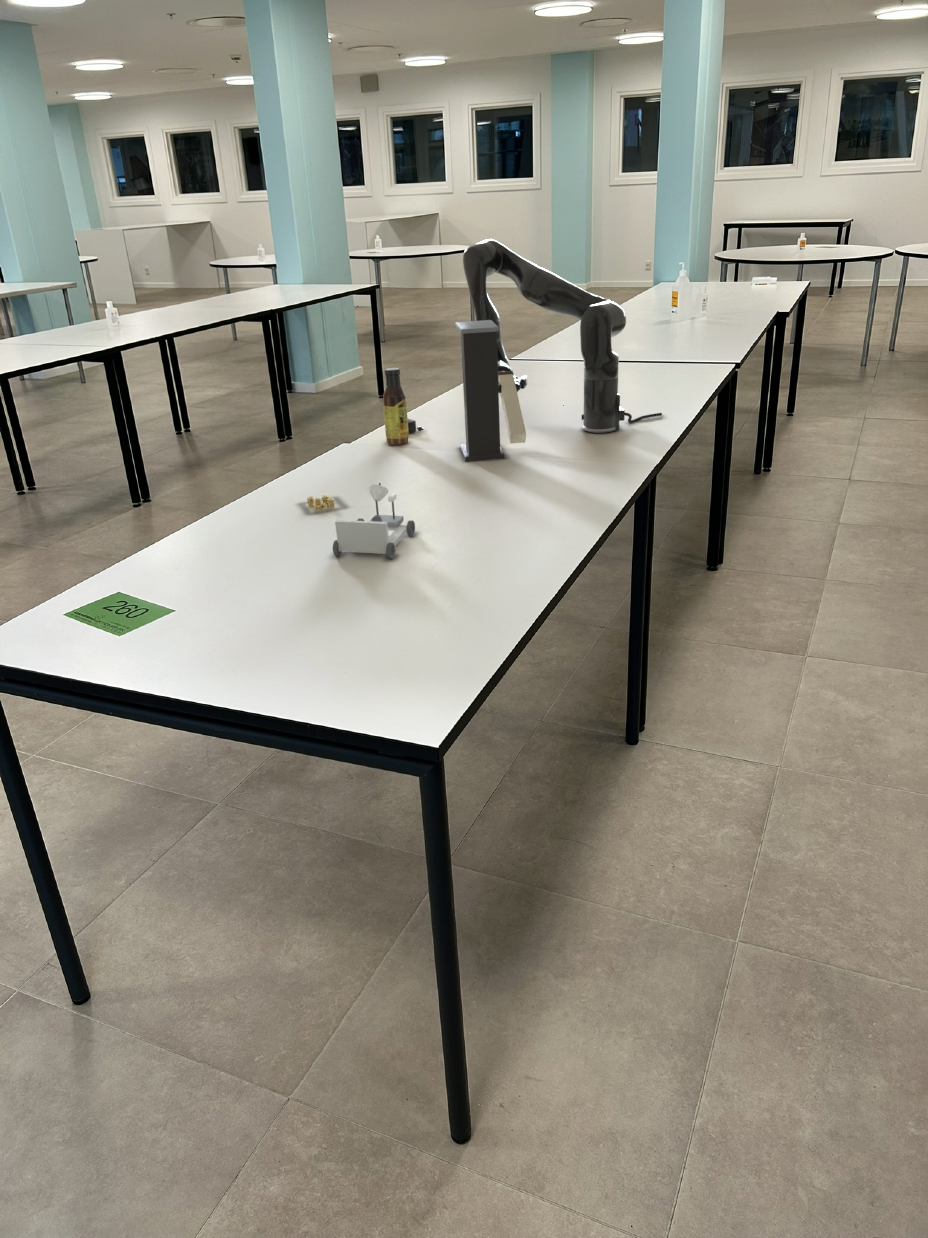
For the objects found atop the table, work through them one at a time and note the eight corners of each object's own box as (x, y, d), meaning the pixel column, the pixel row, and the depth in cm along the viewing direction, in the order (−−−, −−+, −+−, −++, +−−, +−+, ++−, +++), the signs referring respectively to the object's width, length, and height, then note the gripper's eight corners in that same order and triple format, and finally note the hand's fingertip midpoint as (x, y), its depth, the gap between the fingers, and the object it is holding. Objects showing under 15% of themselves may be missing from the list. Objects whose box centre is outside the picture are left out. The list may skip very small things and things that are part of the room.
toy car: (361, 479, 182) (416, 481, 179) (366, 525, 186) (419, 528, 183) (327, 508, 167) (386, 511, 164) (333, 557, 171) (390, 561, 168)
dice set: (307, 505, 201) (306, 497, 200) (329, 501, 202) (328, 493, 202) (313, 511, 197) (312, 503, 196) (335, 507, 198) (334, 499, 197)
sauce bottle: (405, 446, 242) (400, 371, 234) (383, 445, 244) (377, 371, 235) (412, 439, 248) (406, 366, 240) (390, 439, 249) (384, 366, 241)
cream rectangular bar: (512, 380, 248) (512, 370, 246) (525, 442, 235) (526, 433, 232) (497, 381, 248) (497, 371, 245) (509, 443, 235) (510, 434, 232)
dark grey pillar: (497, 445, 238) (493, 319, 225) (504, 458, 227) (500, 326, 213) (459, 448, 238) (453, 322, 224) (465, 461, 226) (458, 329, 212)
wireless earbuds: (411, 434, 254) (410, 423, 252) (396, 430, 259) (395, 419, 257) (424, 431, 256) (423, 420, 255) (409, 427, 261) (408, 416, 260)
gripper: (474, 364, 255) (482, 376, 240) (523, 361, 256) (534, 372, 241) (475, 391, 258) (483, 404, 243) (524, 387, 260) (535, 400, 244)
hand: (508, 388), depth 242 cm, fingers closed on cream rectangular bar, 4 cm apart
